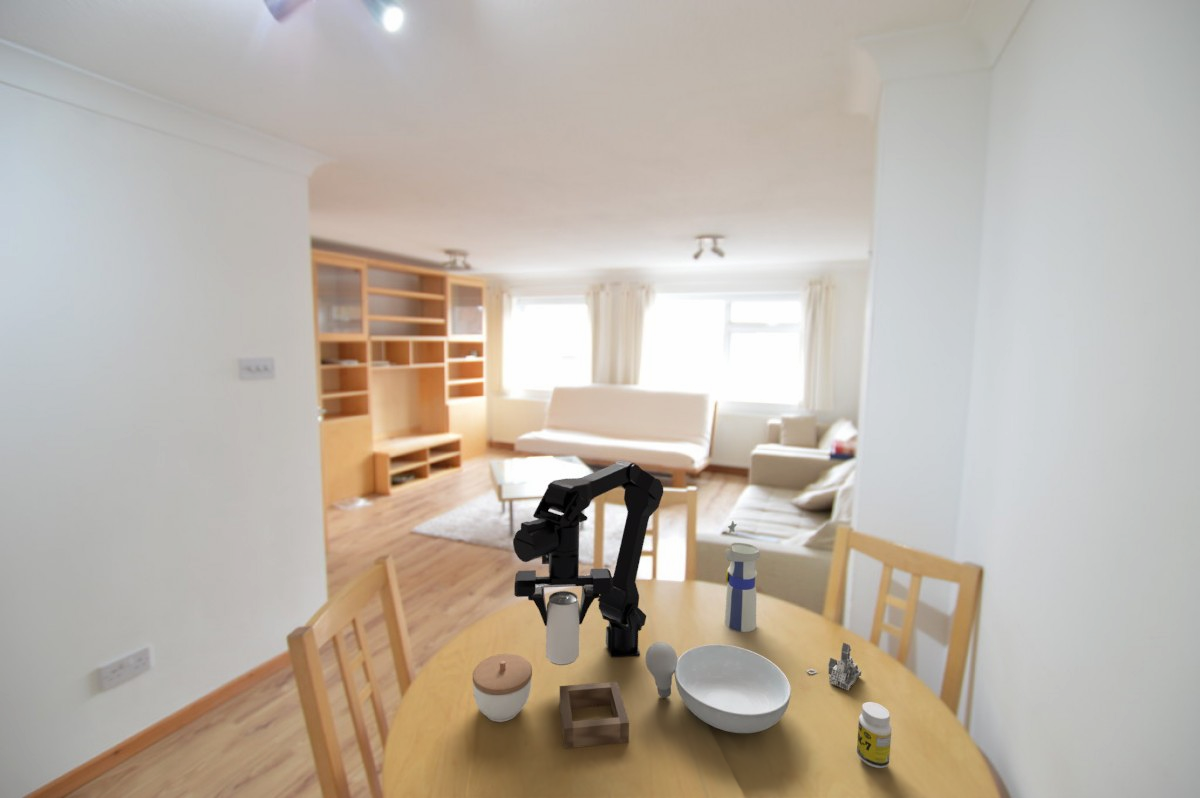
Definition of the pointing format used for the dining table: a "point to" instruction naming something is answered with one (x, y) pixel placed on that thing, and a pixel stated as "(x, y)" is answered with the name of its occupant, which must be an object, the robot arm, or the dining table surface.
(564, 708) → the sleeve block
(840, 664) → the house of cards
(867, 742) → the supplement bottle
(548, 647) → the can
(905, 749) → the dining table surface
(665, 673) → the lightbulb
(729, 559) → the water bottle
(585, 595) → the robot arm
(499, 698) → the lidded jar
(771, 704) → the serving bowl
